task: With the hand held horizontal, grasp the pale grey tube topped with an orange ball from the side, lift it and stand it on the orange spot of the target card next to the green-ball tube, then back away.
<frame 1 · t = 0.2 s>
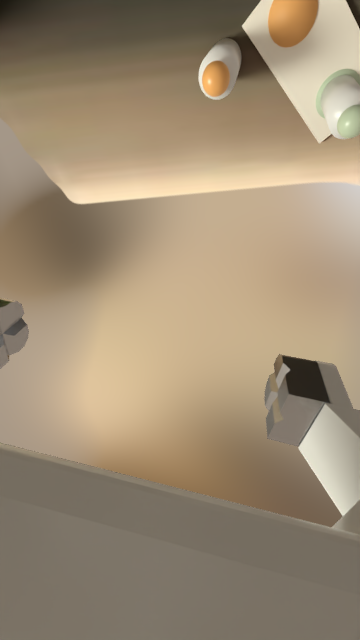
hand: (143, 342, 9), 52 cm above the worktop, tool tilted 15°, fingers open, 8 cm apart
green ball tube: (338, 95, 42), point 1 cm above the worktop, touching target card
orange ball tube: (225, 60, 42), on the worktop
target card: (316, 57, 40), on the worktop
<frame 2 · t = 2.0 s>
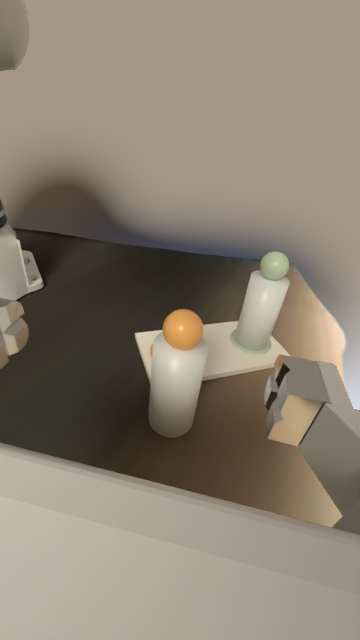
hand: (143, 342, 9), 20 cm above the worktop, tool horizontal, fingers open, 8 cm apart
green ball tube: (250, 340, 41), point 1 cm above the worktop, touching target card
orange ball tube: (170, 417, 30), on the worktop
target card: (212, 350, 40), on the worktop
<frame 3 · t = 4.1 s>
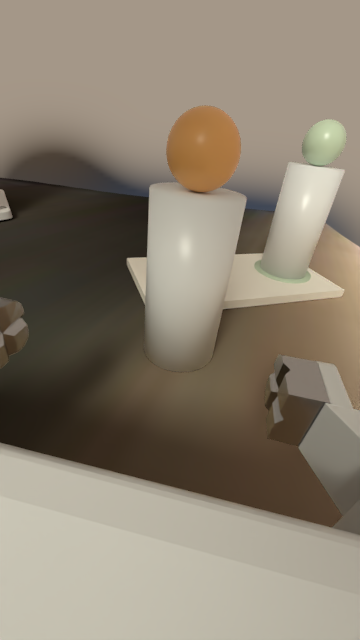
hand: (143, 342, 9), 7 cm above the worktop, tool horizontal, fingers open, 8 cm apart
green ball tube: (282, 269, 31), point 1 cm above the worktop, touching target card
orange ball tube: (178, 347, 20), on the worktop
target card: (232, 280, 29), on the worktop
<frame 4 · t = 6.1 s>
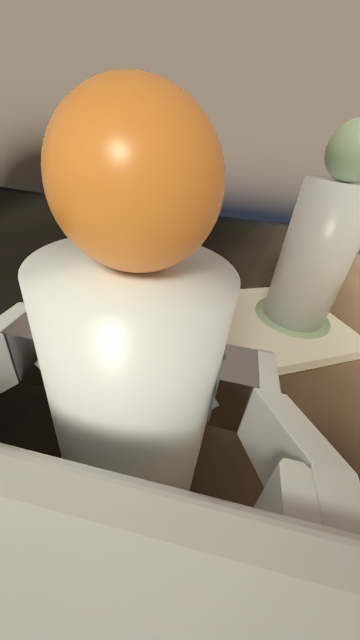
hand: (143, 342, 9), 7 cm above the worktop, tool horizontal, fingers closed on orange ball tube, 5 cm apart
green ball tube: (292, 314, 23), point 1 cm above the worktop, touching target card
orange ball tube: (132, 482, 12), on the worktop, touching gripper
target card: (225, 332, 22), on the worktop
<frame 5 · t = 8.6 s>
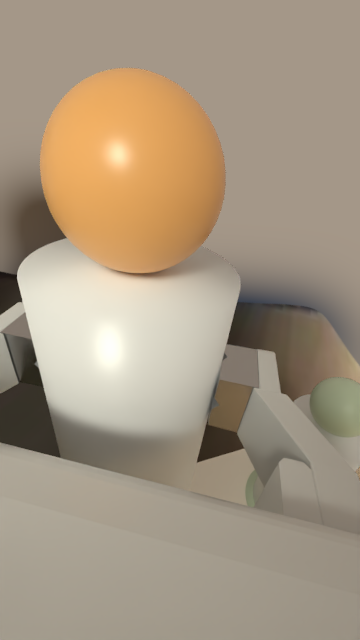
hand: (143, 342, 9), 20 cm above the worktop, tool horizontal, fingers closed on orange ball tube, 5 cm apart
green ball tube: (282, 500, 23), point 1 cm above the worktop, touching target card
orange ball tube: (132, 483, 12), point 13 cm above the worktop, touching gripper
target card: (214, 530, 22), on the worktop
when the fingers open (9 cm above the worktop, at t = 11.2 s): orange ball tube drops 1 cm, resting on target card.
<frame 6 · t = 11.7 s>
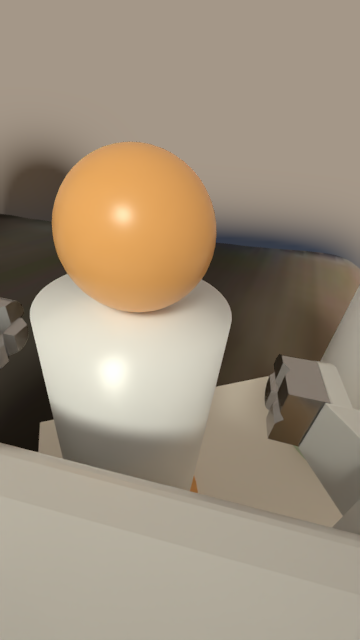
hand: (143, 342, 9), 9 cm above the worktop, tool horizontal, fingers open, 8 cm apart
green ball tube: (335, 431, 17), point 1 cm above the worktop, touching target card
orange ball tube: (133, 494, 13), point 1 cm above the worktop, touching target card
target card: (243, 468, 15), on the worktop
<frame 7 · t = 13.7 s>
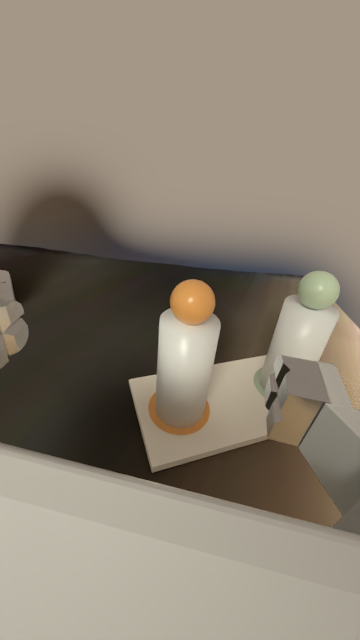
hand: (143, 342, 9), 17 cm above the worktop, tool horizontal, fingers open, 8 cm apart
green ball tube: (281, 384, 31), point 1 cm above the worktop, touching target card
orange ball tube: (179, 407, 27), point 1 cm above the worktop, touching target card
target card: (231, 401, 30), on the worktop
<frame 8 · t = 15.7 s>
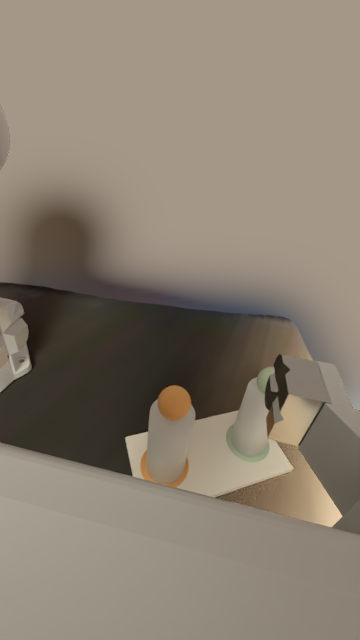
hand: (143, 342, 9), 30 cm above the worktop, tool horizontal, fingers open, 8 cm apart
green ball tube: (247, 440, 39), point 1 cm above the worktop, touching target card
orange ball tube: (165, 464, 35), point 1 cm above the worktop, touching target card
target card: (207, 455, 38), on the worktop
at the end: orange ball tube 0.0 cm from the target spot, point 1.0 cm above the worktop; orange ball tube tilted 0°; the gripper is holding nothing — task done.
